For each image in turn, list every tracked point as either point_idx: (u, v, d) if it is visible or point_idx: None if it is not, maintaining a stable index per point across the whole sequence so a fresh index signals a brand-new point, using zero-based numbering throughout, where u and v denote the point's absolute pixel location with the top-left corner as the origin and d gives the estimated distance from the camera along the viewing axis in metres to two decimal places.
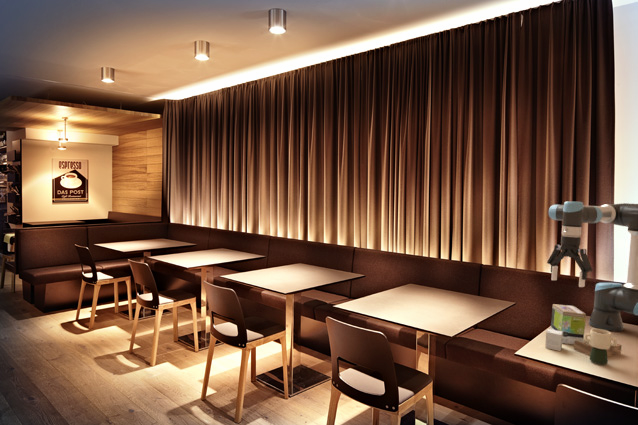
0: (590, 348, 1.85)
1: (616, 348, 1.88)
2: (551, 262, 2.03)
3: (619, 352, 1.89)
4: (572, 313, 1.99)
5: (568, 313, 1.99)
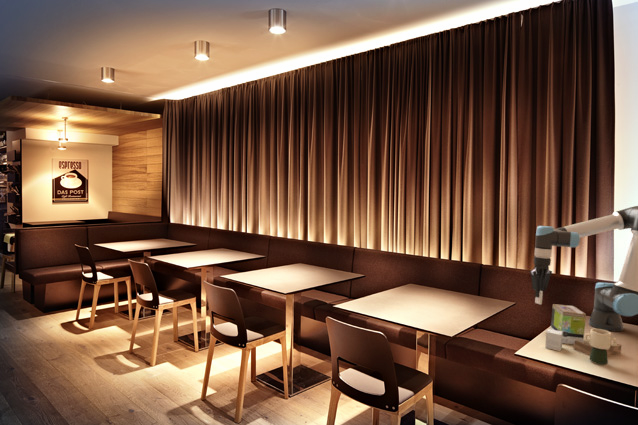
0: (590, 348, 1.85)
1: (616, 348, 1.88)
2: (541, 287, 2.21)
3: (619, 352, 1.89)
4: (572, 313, 1.99)
5: (568, 313, 1.99)
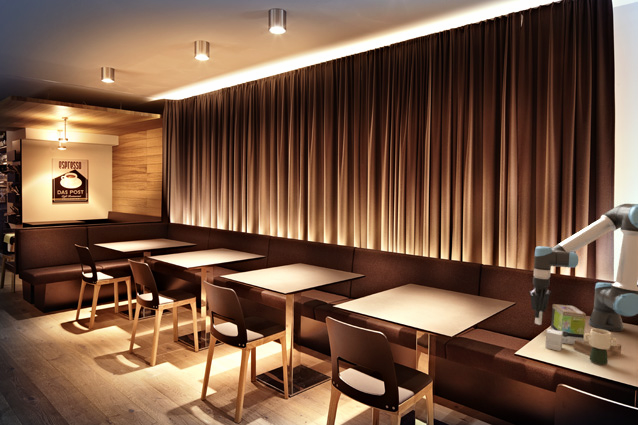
0: (590, 348, 1.85)
1: (616, 348, 1.88)
2: (540, 307, 2.21)
3: (619, 352, 1.89)
4: (572, 313, 1.99)
5: (568, 313, 1.99)
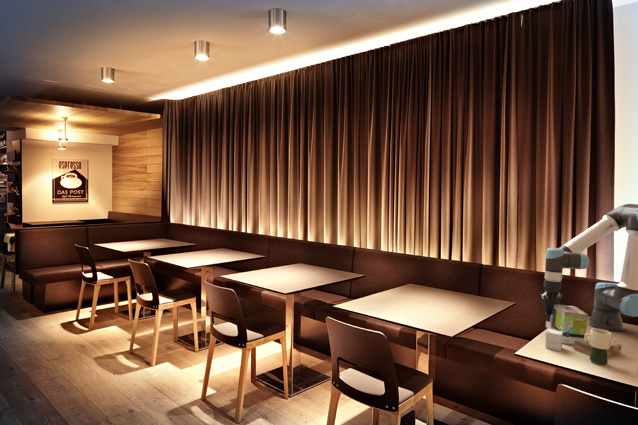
0: (590, 348, 1.85)
1: (616, 348, 1.88)
2: None
3: (619, 352, 1.89)
4: (574, 313, 1.98)
5: (570, 313, 1.98)
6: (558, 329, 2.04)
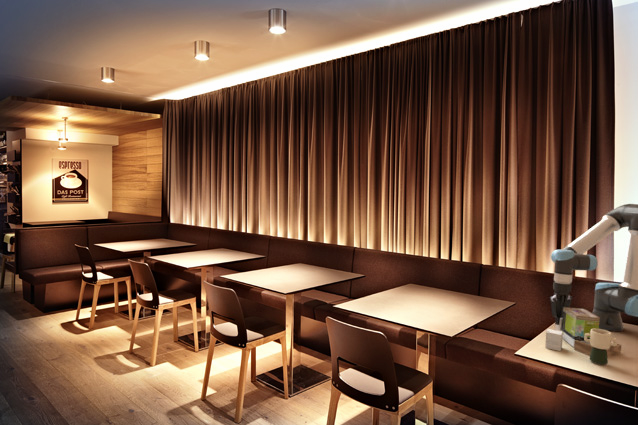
0: (590, 348, 1.85)
1: (616, 348, 1.88)
2: (561, 314, 2.11)
3: (619, 352, 1.89)
4: (586, 317, 1.93)
5: (581, 317, 1.93)
6: (569, 333, 1.99)
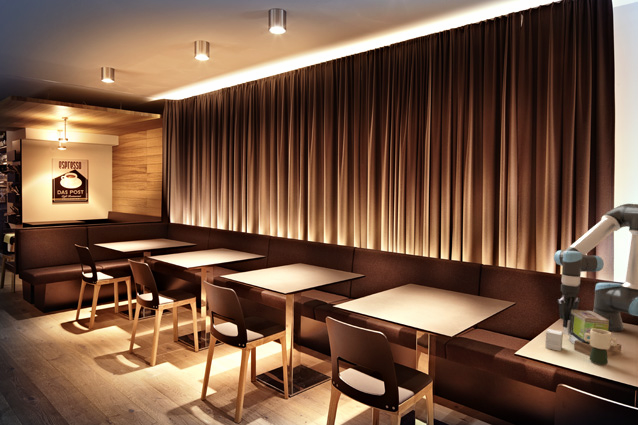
0: (590, 348, 1.85)
1: (616, 348, 1.88)
2: (569, 316, 2.07)
3: (619, 352, 1.89)
4: (595, 319, 1.89)
5: (590, 320, 1.89)
6: (577, 336, 1.96)
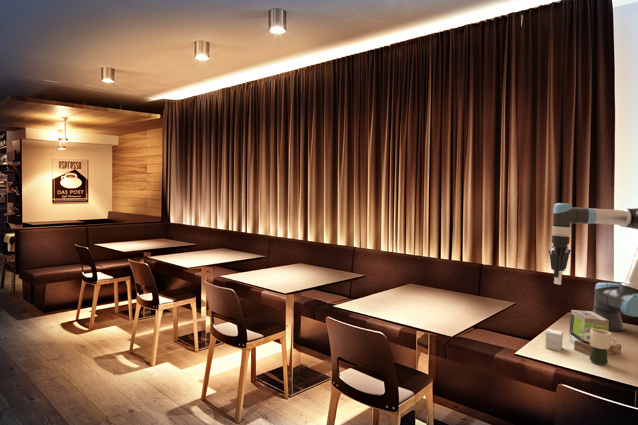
0: (590, 348, 1.85)
1: (616, 348, 1.88)
2: None
3: (619, 352, 1.89)
4: (595, 320, 1.89)
5: (590, 320, 1.89)
6: (577, 336, 1.96)
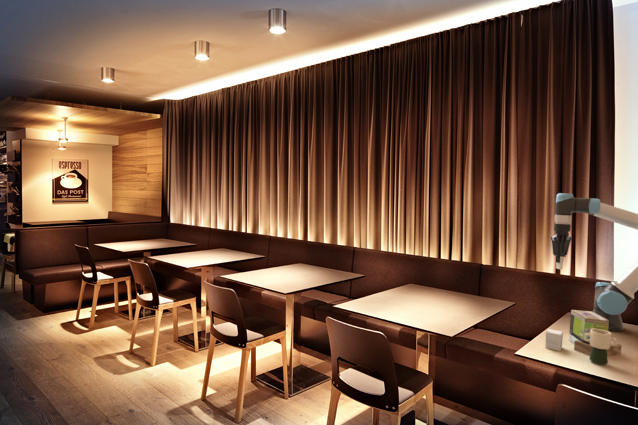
0: (590, 348, 1.85)
1: (616, 348, 1.88)
2: (561, 253, 2.28)
3: (619, 352, 1.89)
4: (595, 320, 1.89)
5: (590, 320, 1.89)
6: (577, 336, 1.96)
